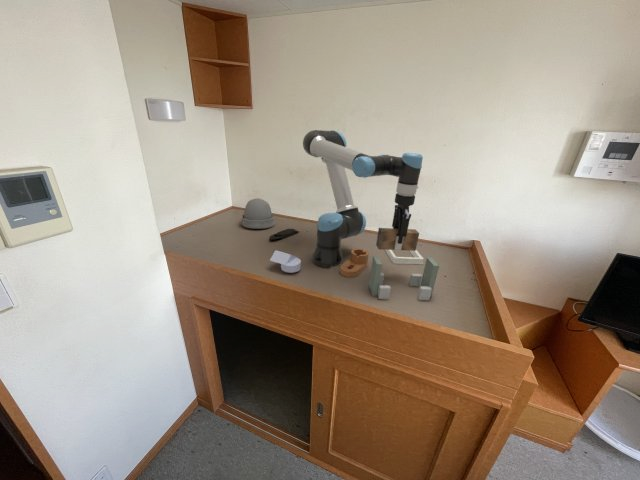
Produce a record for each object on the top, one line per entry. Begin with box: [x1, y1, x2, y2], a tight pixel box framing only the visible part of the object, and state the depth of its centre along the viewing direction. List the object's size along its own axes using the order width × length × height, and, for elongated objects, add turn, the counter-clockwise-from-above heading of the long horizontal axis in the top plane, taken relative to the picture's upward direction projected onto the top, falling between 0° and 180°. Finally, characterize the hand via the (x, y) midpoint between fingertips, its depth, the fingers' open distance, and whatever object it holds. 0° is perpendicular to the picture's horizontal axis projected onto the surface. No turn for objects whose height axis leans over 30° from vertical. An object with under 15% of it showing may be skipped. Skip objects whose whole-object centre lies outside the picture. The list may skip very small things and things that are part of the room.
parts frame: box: [385, 249, 425, 265], centre depth 145 cm, size 15×25×3 cm, turn 2°
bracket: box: [339, 248, 370, 278], centre depth 125 cm, size 18×8×7 cm, turn 146°
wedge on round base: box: [269, 250, 302, 274], centre depth 124 cm, size 9×7×13 cm
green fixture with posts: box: [368, 255, 440, 301], centre depth 108 cm, size 24×12×14 cm, turn 92°
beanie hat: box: [241, 197, 276, 230], centre depth 173 cm, size 21×21×20 cm
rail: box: [375, 227, 420, 252], centre depth 115 cm, size 16×4×8 cm, turn 92°
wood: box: [269, 228, 300, 241], centre depth 159 cm, size 22×7×3 cm, turn 142°
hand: (395, 247), depth 116 cm, fingers closed on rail, 4 cm apart
